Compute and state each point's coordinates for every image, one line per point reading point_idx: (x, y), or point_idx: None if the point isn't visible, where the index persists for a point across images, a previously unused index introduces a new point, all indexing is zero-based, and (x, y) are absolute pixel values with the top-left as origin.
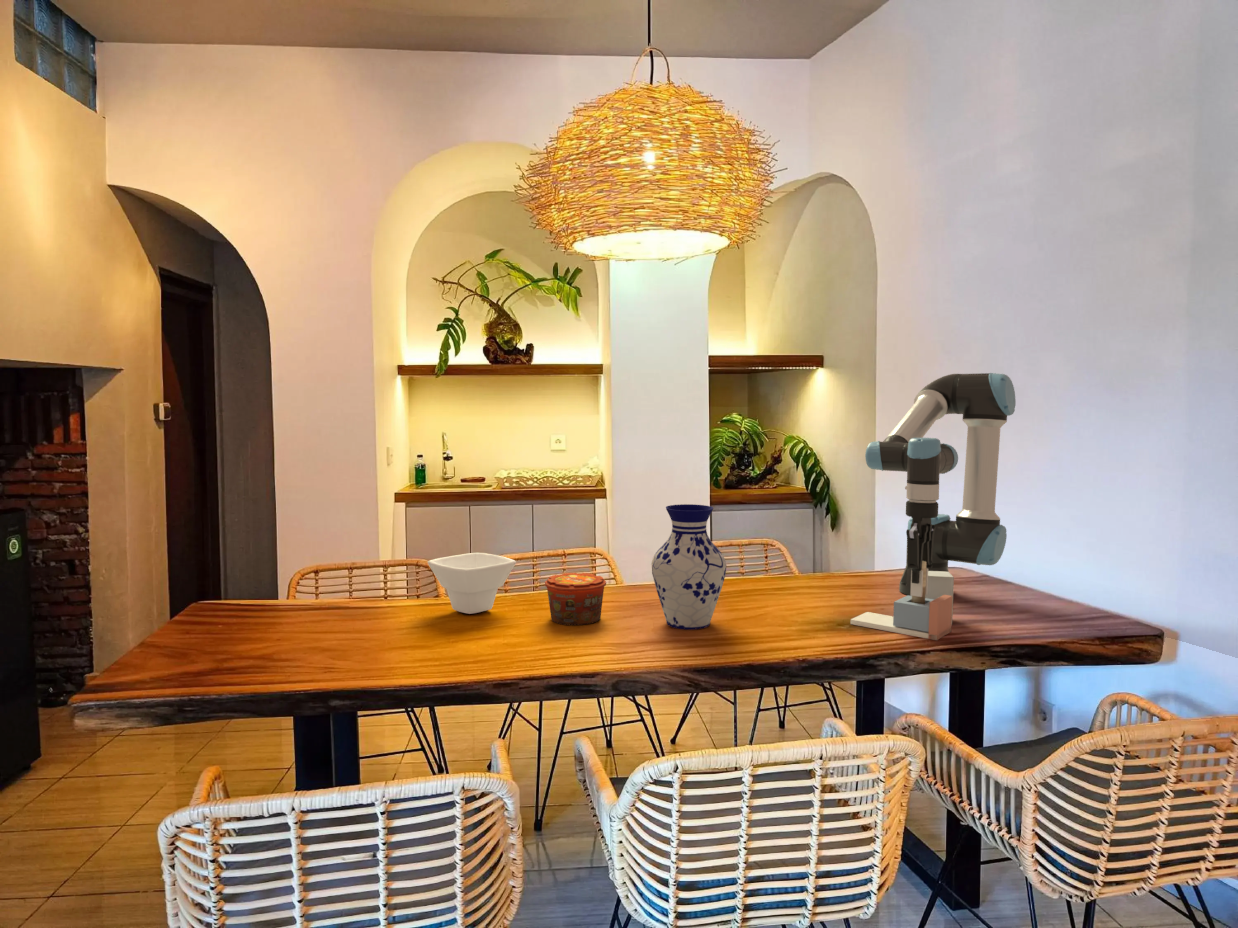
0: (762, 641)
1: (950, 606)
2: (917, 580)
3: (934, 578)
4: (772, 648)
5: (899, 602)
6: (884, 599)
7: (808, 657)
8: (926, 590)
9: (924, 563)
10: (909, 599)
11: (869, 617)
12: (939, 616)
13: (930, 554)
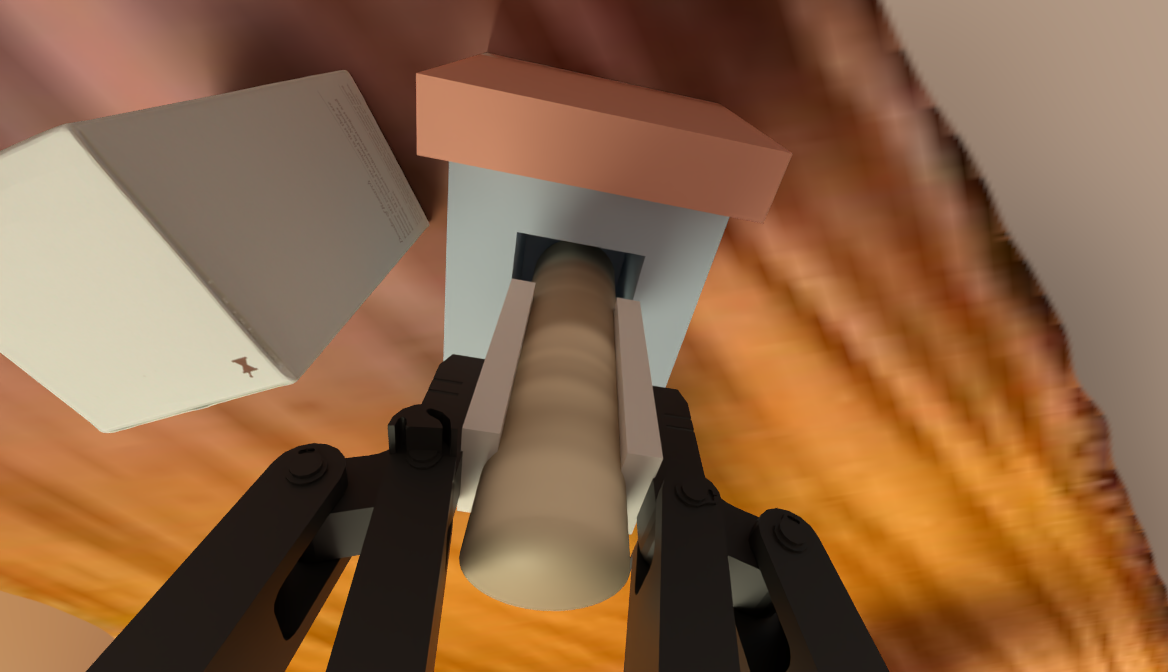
0: (910, 573)
1: (480, 73)
2: (687, 411)
3: (248, 304)
4: (981, 547)
5: (659, 384)
6: (149, 423)
7: (1081, 471)
8: (530, 298)
9: (594, 517)
10: None
11: None
12: (717, 119)
13: (270, 580)
